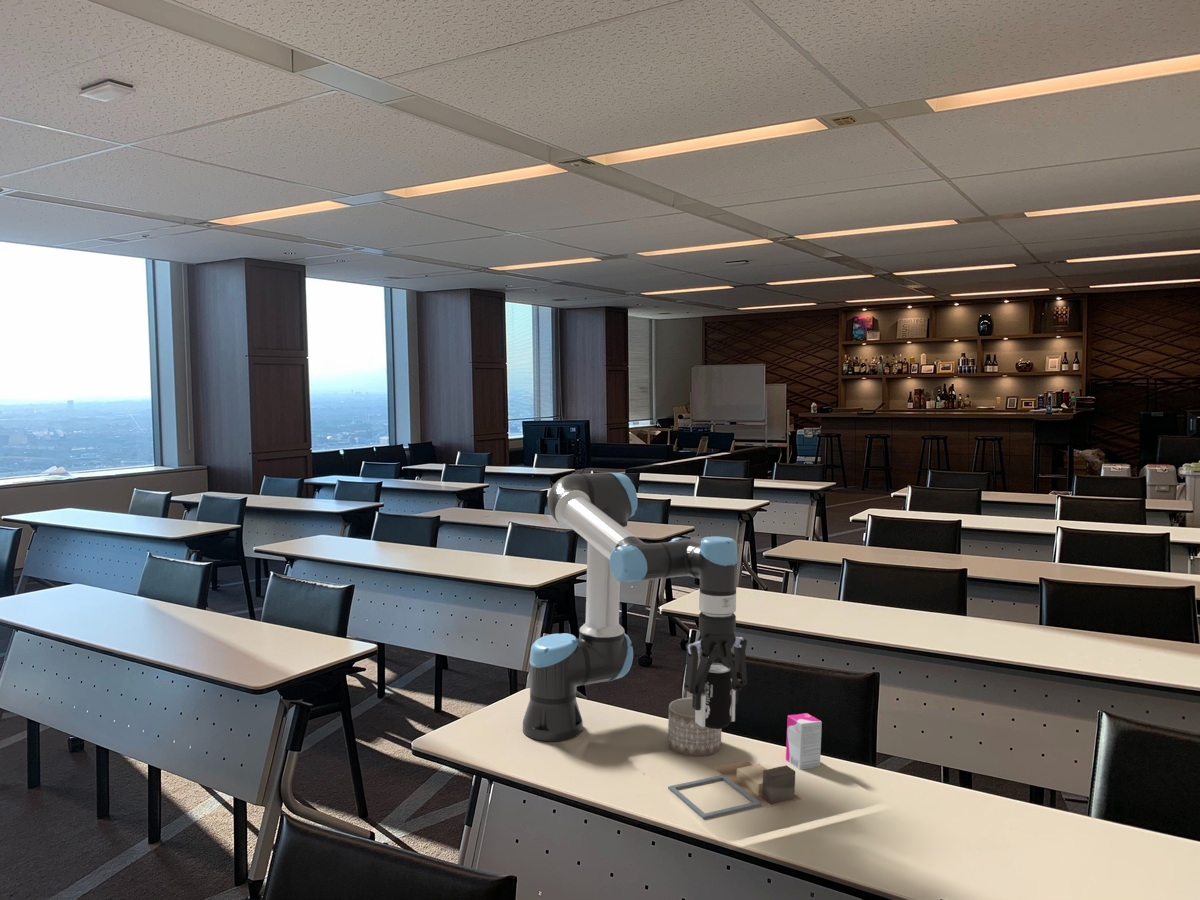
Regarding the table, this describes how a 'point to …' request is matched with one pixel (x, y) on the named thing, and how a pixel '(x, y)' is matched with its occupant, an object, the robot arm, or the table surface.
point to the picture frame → (720, 812)
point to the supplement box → (803, 741)
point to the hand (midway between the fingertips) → (714, 721)
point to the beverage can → (718, 697)
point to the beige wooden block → (752, 777)
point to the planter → (690, 731)
